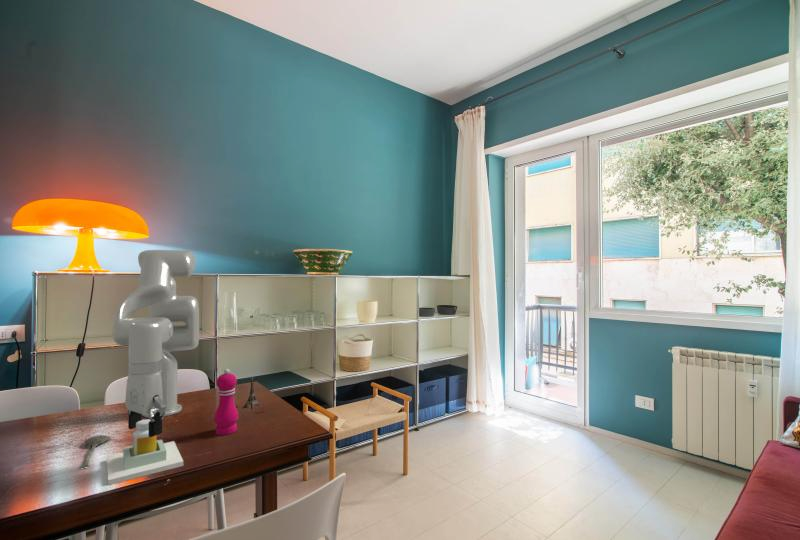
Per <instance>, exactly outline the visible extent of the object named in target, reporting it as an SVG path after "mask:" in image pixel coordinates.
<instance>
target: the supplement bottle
mask: <svg viewBox="0 0 800 540" xmlns="http://www.w3.org/2000/svg"><path fill="white" fill-rule="evenodd" d="M149 422H150V418H148V419H142V420H141V421H138V422H137V423H136V428H135V429H136V430H135V431H134V432H133V433H132V446H133V456H137V455H142V454H146V453H150V452H155V451H156V441H157V440H158V439H157V436H158V435H156V436H153V437H149V436H148V434H149Z"/></svg>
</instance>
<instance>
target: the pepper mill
mask: <svg viewBox="0 0 800 540" xmlns="http://www.w3.org/2000/svg"><path fill="white" fill-rule="evenodd" d="M230 371H231V370H230V369H228V368H225V369H224V370H223V374H221V375H219V376H218V378H217V379H216V387H217V388H218V390H217V393H218V395H219V402H218V406H217V408H216V411H215V413H214V417H213V421H214V423H215V425H216V426H215V434H216V435H219V436H226V435H230V434H233V433H235V432H237V430H238V424H237V421H238V420H239V414H238V411H237V408H236V403H235V401H234V400H235V399H234V394H235V393H236V391H235V390H236V388H235V387H236V385H237V383H238V379H237V377H236V375H234V373H230Z"/></svg>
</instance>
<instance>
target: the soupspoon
mask: <svg viewBox="0 0 800 540" xmlns="http://www.w3.org/2000/svg"><path fill="white" fill-rule="evenodd" d="M110 439H112V437H111V436H109V435H103V434H99V435H94V436H90V437H89V438H87V439H85V441H84V442H83V443H85V444H88V445H91V446H92V447H91V448H90V450H89V454H88V456H87V458H86V459H85V461H84V463H83V464H82V465H80V468H85V467H90V466H89V465H90V464H89V463H90V460H91V458H92V456H93V453H94V452H95V449H96V447H97V446H98V445H101V444H103V443H104V442H106V441H108V440H110ZM85 469H86V468H85Z"/></svg>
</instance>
